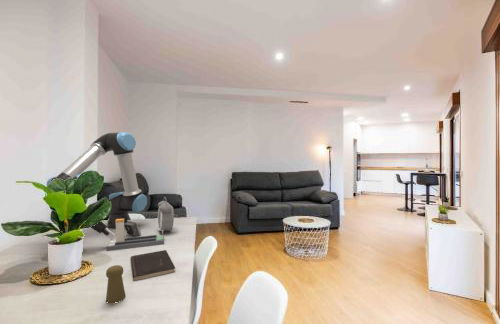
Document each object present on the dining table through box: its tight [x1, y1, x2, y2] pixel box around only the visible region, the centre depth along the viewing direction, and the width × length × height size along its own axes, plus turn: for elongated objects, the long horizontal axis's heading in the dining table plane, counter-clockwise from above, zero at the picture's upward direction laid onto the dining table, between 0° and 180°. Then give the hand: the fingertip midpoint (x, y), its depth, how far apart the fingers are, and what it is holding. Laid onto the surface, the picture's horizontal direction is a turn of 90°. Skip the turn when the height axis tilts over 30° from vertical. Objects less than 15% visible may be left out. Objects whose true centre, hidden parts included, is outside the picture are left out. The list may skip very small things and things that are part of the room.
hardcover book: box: [130, 249, 176, 282], centre depth 114 cm, size 16×23×2 cm
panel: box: [105, 234, 165, 252], centre depth 141 cm, size 10×28×3 cm, turn 108°
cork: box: [105, 264, 126, 304], centre depth 87 cm, size 6×6×11 cm
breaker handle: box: [115, 218, 126, 242], centre depth 138 cm, size 4×4×12 cm
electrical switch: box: [124, 220, 142, 237], centre depth 157 cm, size 9×5×9 cm, turn 57°
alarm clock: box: [157, 196, 175, 235], centre depth 164 cm, size 16×9×22 cm, turn 27°
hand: (113, 237), depth 138 cm, fingers closed
